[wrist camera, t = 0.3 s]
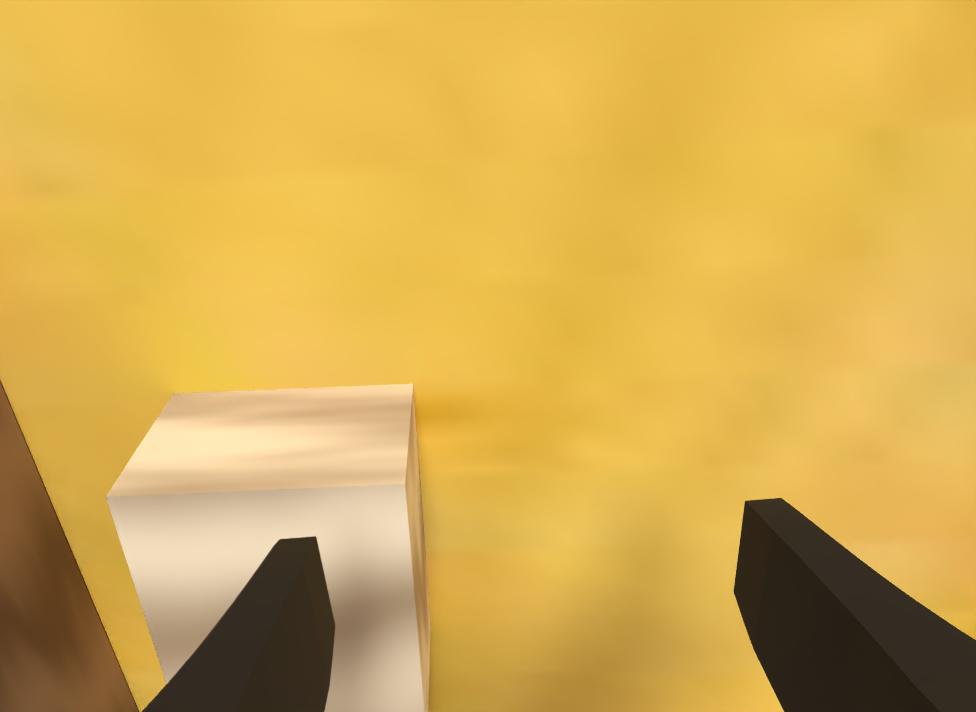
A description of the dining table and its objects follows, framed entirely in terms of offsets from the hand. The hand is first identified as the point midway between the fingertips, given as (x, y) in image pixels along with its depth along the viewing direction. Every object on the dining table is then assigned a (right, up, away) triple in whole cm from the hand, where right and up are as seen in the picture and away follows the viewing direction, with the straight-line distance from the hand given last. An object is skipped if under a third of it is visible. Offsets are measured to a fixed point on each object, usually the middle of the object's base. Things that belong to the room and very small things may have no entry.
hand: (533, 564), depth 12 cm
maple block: (-6, -2, +12) cm, 13 cm away
